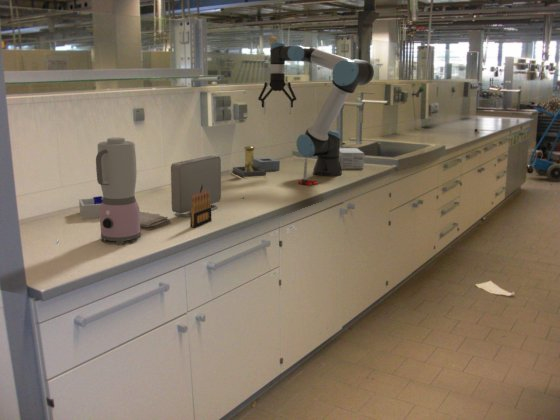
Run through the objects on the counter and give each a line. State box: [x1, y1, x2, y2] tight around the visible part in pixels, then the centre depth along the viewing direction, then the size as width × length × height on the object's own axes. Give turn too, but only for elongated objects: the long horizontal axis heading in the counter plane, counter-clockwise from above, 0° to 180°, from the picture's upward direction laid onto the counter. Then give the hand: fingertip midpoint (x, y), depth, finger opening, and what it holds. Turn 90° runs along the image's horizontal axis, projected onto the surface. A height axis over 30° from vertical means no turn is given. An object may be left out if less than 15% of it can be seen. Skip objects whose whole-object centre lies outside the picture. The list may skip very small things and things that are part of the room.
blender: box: [95, 137, 142, 245], centre depth 171 cm, size 16×12×32 cm
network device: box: [170, 155, 222, 218], centre depth 210 cm, size 26×9×20 cm, turn 151°
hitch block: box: [254, 157, 281, 172], centre depth 299 cm, size 11×11×6 cm
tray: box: [232, 166, 267, 179], centre depth 287 cm, size 16×12×3 cm
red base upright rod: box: [297, 157, 319, 186], centre depth 268 cm, size 8×13×9 cm
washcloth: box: [140, 211, 171, 231], centre depth 195 cm, size 12×18×3 cm, turn 64°
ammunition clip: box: [189, 189, 213, 229], centre depth 194 cm, size 11×2×12 cm, turn 154°
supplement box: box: [339, 147, 365, 169], centre depth 321 cm, size 17×13×9 cm
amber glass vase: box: [243, 145, 255, 172], centre depth 286 cm, size 5×5×14 cm
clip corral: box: [78, 197, 103, 220], centre depth 206 cm, size 11×19×5 cm, turn 115°
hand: (277, 113), depth 296 cm, fingers open, 13 cm apart
